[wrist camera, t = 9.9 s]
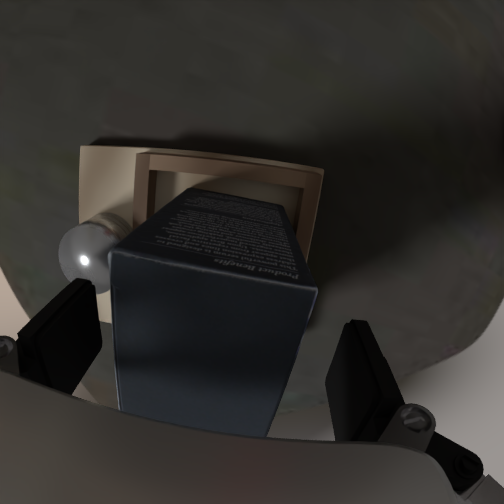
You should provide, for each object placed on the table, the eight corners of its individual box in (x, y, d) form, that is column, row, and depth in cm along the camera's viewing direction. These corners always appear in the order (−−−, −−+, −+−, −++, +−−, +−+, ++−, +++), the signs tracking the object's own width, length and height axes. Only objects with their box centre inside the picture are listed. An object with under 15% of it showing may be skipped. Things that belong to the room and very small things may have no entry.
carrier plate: (320, 168, 18) (337, 176, 14) (285, 340, 22) (290, 378, 18) (88, 145, 17) (53, 149, 14) (92, 311, 21) (69, 340, 18)
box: (258, 321, 20) (258, 462, 10) (171, 305, 20) (116, 434, 10) (286, 202, 18) (325, 291, 8) (186, 183, 17) (101, 247, 7)
